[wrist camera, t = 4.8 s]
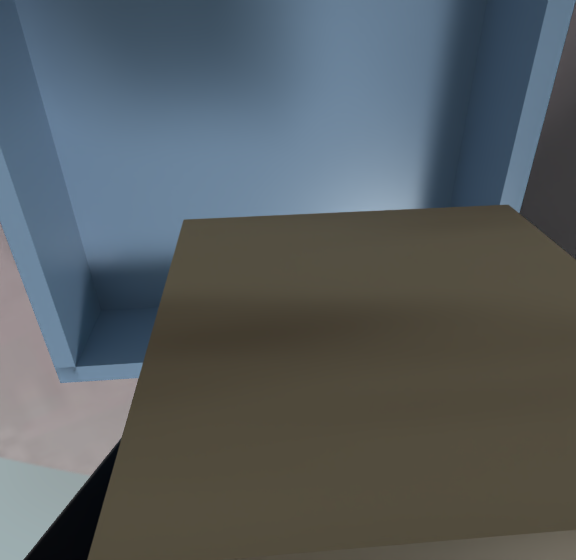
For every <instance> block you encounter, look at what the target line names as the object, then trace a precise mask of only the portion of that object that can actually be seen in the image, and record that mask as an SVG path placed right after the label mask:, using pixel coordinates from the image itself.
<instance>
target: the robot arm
mask: <svg viewBox="0 0 576 560" xmlns="http://www.w3.org/2000/svg"><path fill="white" fill-rule="evenodd" d="M121 439H122V438H121ZM121 439H120V440H119V442H118V443H117V444H116V445H115V447H114V448H113V449H112V450H111V452H110V453H109V454H108V455H107V457H106V458H105V459H104V460H103V462H102V463H101V464H100V465H99V467H98V468H97V469H96V470H95V471H94V473H93V474H92V475H91V476H90V478H89V479H88V480H87V481H86V483H85V484H84V485H83V487H82V488H81V489H80V490H79V491H78V493H77V494H76V495H75V497H74V498H73V499H72V500H71V501H70V503H69V504H68V505H67V506H66V508H65V509H64V510H63V512H62V513H61V514H60V515H59V516H58V517H57V519H56V520H55V521H54V523H53V524H52V525H51V526H50V527H49V529H48V530H47V531H46V533H45V534H44V535H43V536H42V537H41V539H40V540H39V541H38V542H37V544H36V545H35V546H34V547H33V549H32V550H31V551H30V552H29V554H28V555H27V556H26V557H25V559H24V560H87V559H88V556H89V552H90V549H91V545H92V542H93V538H94V534H95V531H96V527H97V524H98V520H99V517H100V513H101V510H102V506H103V503H104V499H105V496H106V492H107V488H108V485H109V481H110V478H111V474H112V471H113V467H114V464H115V460H116V457H117V453H118V450H119V446H120V442H121Z"/></svg>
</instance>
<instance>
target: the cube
mask: <svg viewBox="0 0 576 560" xmlns="http://www.w3.org/2000/svg"><path fill="white" fill-rule="evenodd" d="M87 560H576V259H574V258H573V257H572V256H571V255H569V254H568V253H567V252H566V251H565V250H563V249H562V248H561V247H560V246H558V245H557V244H556V243H555V242H554V241H552V240H551V239H550V238H549V237H547V236H546V235H545V234H544V233H543V232H541V231H540V230H539V229H538V228H536V227H535V226H534V225H533V224H532V223H530V222H529V221H528V220H527V219H525V218H524V217H523V216H522V215H521V214H519V213H518V212H517V211H516V210H514V209H513V208H512V207H511V206H510V205H489V206H467V207H445V208H424V209H402V210H380V211H359V212H337V213H315V214H293V215H272V216H250V217H228V218H206V219H185V220H183V223H182V227H181V230H180V234H179V237H178V241H177V244H176V248H175V252H174V255H173V259H172V262H171V266H170V269H169V273H168V276H167V280H166V283H165V287H164V290H163V294H162V297H161V301H160V305H159V308H158V312H157V315H156V319H155V322H154V326H153V329H152V333H151V336H150V340H149V343H148V347H147V351H146V354H145V358H144V361H143V365H142V368H141V372H140V375H139V379H138V382H137V386H136V389H135V393H134V397H133V400H132V404H131V407H130V411H129V414H128V418H127V421H126V425H125V428H124V432H123V435H122V439H121V442H120V446H119V450H118V453H117V457H116V460H115V464H114V467H113V471H112V474H111V478H110V481H109V485H108V488H107V492H106V496H105V499H104V503H103V506H102V510H101V513H100V517H99V520H98V524H97V527H96V531H95V534H94V538H93V542H92V545H91V549H90V552H89V556H88V559H87Z"/></svg>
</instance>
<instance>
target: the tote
mask: <svg viewBox="0 0 576 560" xmlns="http://www.w3.org/2000/svg"><path fill="white" fill-rule="evenodd" d="M575 1H576V0H0V222H1V225H2V228H3V230H4V233H5V236H6V238H7V241H8V244H9V246H10V249H11V252H12V254H13V257H14V260H15V262H16V265H17V268H18V270H19V273H20V276H21V279H22V281H23V284H24V287H25V289H26V292H27V295H28V297H29V300H30V303H31V305H32V308H33V311H34V313H35V316H36V319H37V321H38V324H39V327H40V329H41V332H42V335H43V337H44V340H45V343H46V345H47V348H48V351H49V353H50V356H51V359H52V361H53V364H54V367H55V369H56V372H57V375H58V377H59V380H60V383H67V382H82V381H98V380H113V379H129V378H139V375H140V372H141V368H142V365H143V361H144V358H145V354H146V351H147V347H148V343H149V340H150V336H151V333H152V329H153V326H154V322H155V319H156V315H157V312H158V308H159V305H160V301H161V297H162V294H163V290H164V287H165V283H166V280H167V276H168V273H169V269H170V266H171V262H172V259H173V255H174V252H175V248H176V244H177V241H178V237H179V234H180V230H181V227H182V223H183V220H185V219H206V218H228V217H250V216H272V215H293V214H315V213H337V212H359V211H380V210H402V209H424V208H445V207H467V206H489V205H510V206H511V207H512V208H513V209H514V210H516V211H517V212H518V213H520V209H521V205H522V202H523V198H524V194H525V190H526V187H527V183H528V179H529V175H530V171H531V168H532V164H533V160H534V156H535V153H536V149H537V145H538V141H539V137H540V134H541V130H542V126H543V122H544V119H545V115H546V111H547V107H548V103H549V100H550V96H551V92H552V88H553V85H554V81H555V77H556V73H557V69H558V66H559V62H560V58H561V54H562V51H563V47H564V43H565V39H566V35H567V32H568V28H569V24H570V20H571V16H572V13H573V9H574V5H575Z"/></svg>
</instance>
